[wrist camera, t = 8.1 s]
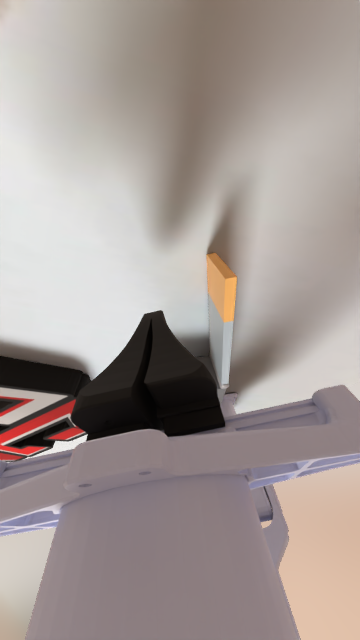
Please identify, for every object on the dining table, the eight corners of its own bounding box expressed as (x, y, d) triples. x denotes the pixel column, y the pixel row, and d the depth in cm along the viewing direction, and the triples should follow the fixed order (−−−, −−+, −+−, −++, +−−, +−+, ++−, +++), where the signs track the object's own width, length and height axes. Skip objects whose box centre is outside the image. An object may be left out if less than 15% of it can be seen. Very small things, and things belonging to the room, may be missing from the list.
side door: (209, 356, 24) (220, 389, 20) (204, 254, 15) (222, 279, 11) (216, 354, 24) (229, 387, 20) (217, 252, 15) (239, 276, 11)
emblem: (18, 331, 18) (-121, 420, 25) (-7, 358, 16) (-157, 451, 22) (127, 395, 29) (10, 446, 35) (124, 419, 26) (-3, 470, 33)
